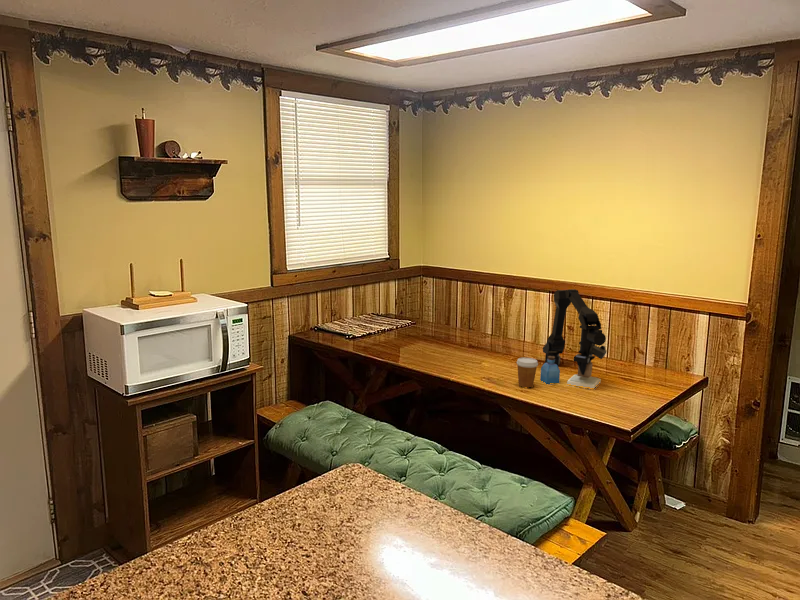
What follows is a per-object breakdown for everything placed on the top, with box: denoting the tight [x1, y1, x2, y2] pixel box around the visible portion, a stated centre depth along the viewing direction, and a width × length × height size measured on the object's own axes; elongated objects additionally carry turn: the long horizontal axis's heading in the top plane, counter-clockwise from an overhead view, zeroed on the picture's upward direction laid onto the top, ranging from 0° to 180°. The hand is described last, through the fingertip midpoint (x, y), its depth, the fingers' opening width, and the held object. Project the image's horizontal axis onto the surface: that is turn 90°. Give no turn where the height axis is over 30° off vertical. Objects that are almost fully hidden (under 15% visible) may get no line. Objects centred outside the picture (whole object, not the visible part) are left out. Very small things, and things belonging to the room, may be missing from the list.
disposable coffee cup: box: [516, 357, 539, 388], centre depth 276 cm, size 10×10×12 cm
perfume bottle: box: [539, 356, 561, 385], centre depth 283 cm, size 6×6×12 cm
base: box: [566, 373, 602, 389], centre depth 282 cm, size 12×12×2 cm
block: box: [577, 361, 593, 378], centre depth 281 cm, size 5×5×6 cm
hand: (584, 373), depth 281 cm, fingers closed on block, 5 cm apart
